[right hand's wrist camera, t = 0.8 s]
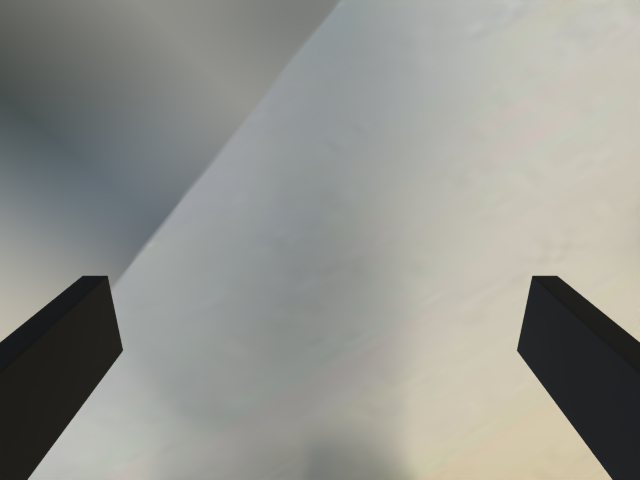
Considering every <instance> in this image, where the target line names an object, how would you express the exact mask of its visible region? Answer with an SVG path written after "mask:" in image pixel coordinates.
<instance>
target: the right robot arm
mask: <svg viewBox="0 0 640 480" xmlns="http://www.w3.org/2000/svg"><path fill="white" fill-rule="evenodd" d="M122 351H123V348H122V343H121V338H120V334H119V329H118V324H117V319H116V314H115V309H114V304H113V300H112V295H111V290H110V285H109V280H108V276H82V277H81V278H80V279H78V280H77V281H76V282H75V283H73V284H72V285H71V286H70V287H68V288H67V289H66V290H65V291H63V292H62V293H61V294H60V295H58V296H57V297H56V298H55V299H54V300H52V301H51V302H50V303H49V304H47V305H46V306H45V307H44V308H42V309H41V310H40V311H39V312H37V313H36V314H35V315H34V316H32V317H31V318H30V319H29V320H27V321H26V322H25V323H24V324H23V325H21V326H20V327H19V328H18V329H16V330H15V331H14V332H13V333H11V334H10V335H9V336H8V337H6V338H5V339H4V340H3V341H1V342H0V480H28V478H29V477H30V476H31V474H32V473H33V471H34V470H35V469H36V467H37V466H38V465H39V463H40V462H41V461H42V459H43V458H44V457H45V455H46V454H47V453H48V451H49V450H50V448H51V447H52V446H53V444H54V443H55V442H56V440H57V439H58V438H59V436H60V435H61V434H62V432H63V431H64V430H65V428H66V427H67V426H68V424H69V423H70V421H71V420H72V419H73V417H74V416H75V415H76V413H77V412H78V411H79V409H80V408H81V407H82V405H83V404H84V403H85V401H86V400H87V399H88V397H89V396H90V394H91V393H92V392H93V390H94V389H95V388H96V386H97V385H98V384H99V382H100V381H101V380H102V378H103V377H104V376H105V374H106V373H107V371H108V370H109V369H110V367H111V366H112V365H113V363H114V362H115V361H116V359H117V358H118V357H119V355H120V354H121V353H122ZM517 351H518V353H519V354H520V355H521V357H522V358H523V359H524V361H525V362H526V363H527V365H528V366H529V367H530V369H531V370H532V371H533V373H534V374H535V376H536V377H537V378H538V380H539V381H540V382H541V384H542V385H543V386H544V388H545V389H546V390H547V392H548V393H549V394H550V396H551V397H552V399H553V400H554V401H555V403H556V404H557V405H558V407H559V408H560V409H561V411H562V412H563V413H564V415H565V416H566V417H567V419H568V420H569V421H570V423H571V424H572V426H573V427H574V428H575V430H576V431H577V432H578V434H579V435H580V436H581V438H582V439H583V440H584V442H585V443H586V444H587V446H588V447H589V448H590V450H591V451H592V453H593V454H594V455H595V457H596V458H597V459H598V461H599V462H600V463H601V465H602V466H603V467H604V469H605V470H606V471H607V473H608V474H609V476H610V477H611V478H612V480H640V342H639V341H637V340H636V339H635V338H634V337H632V336H631V335H630V334H629V333H627V332H626V331H625V330H624V329H622V328H621V327H620V326H619V325H617V324H616V323H615V322H614V321H613V320H611V319H610V318H609V317H608V316H606V315H605V314H604V313H603V312H601V311H600V310H599V309H598V308H596V307H595V306H594V305H593V304H591V303H590V302H589V301H588V300H587V299H585V298H584V297H583V296H582V295H580V294H579V293H578V292H577V291H575V290H574V289H573V288H572V287H570V286H569V285H568V284H567V283H565V282H564V281H563V280H562V279H560V278H559V277H558V276H532V280H531V285H530V290H529V295H528V300H527V304H526V309H525V314H524V319H523V324H522V329H521V334H520V338H519V343H518V348H517Z"/></svg>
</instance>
